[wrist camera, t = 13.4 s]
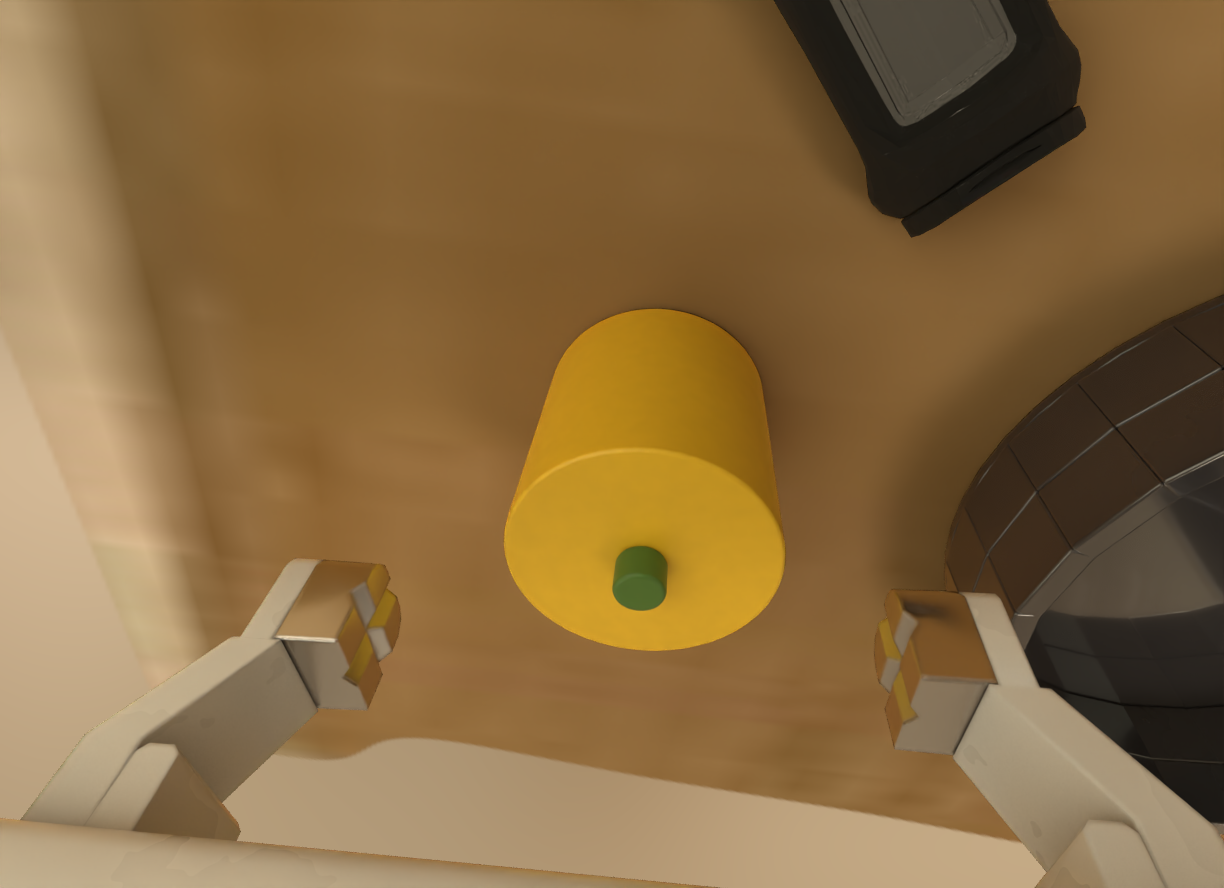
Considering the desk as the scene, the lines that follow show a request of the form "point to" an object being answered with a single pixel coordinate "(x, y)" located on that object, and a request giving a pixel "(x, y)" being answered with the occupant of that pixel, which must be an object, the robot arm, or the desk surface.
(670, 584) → the yellow pepper
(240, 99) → the desk surface
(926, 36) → the electric trimmer
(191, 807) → the robot arm
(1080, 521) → the pan
